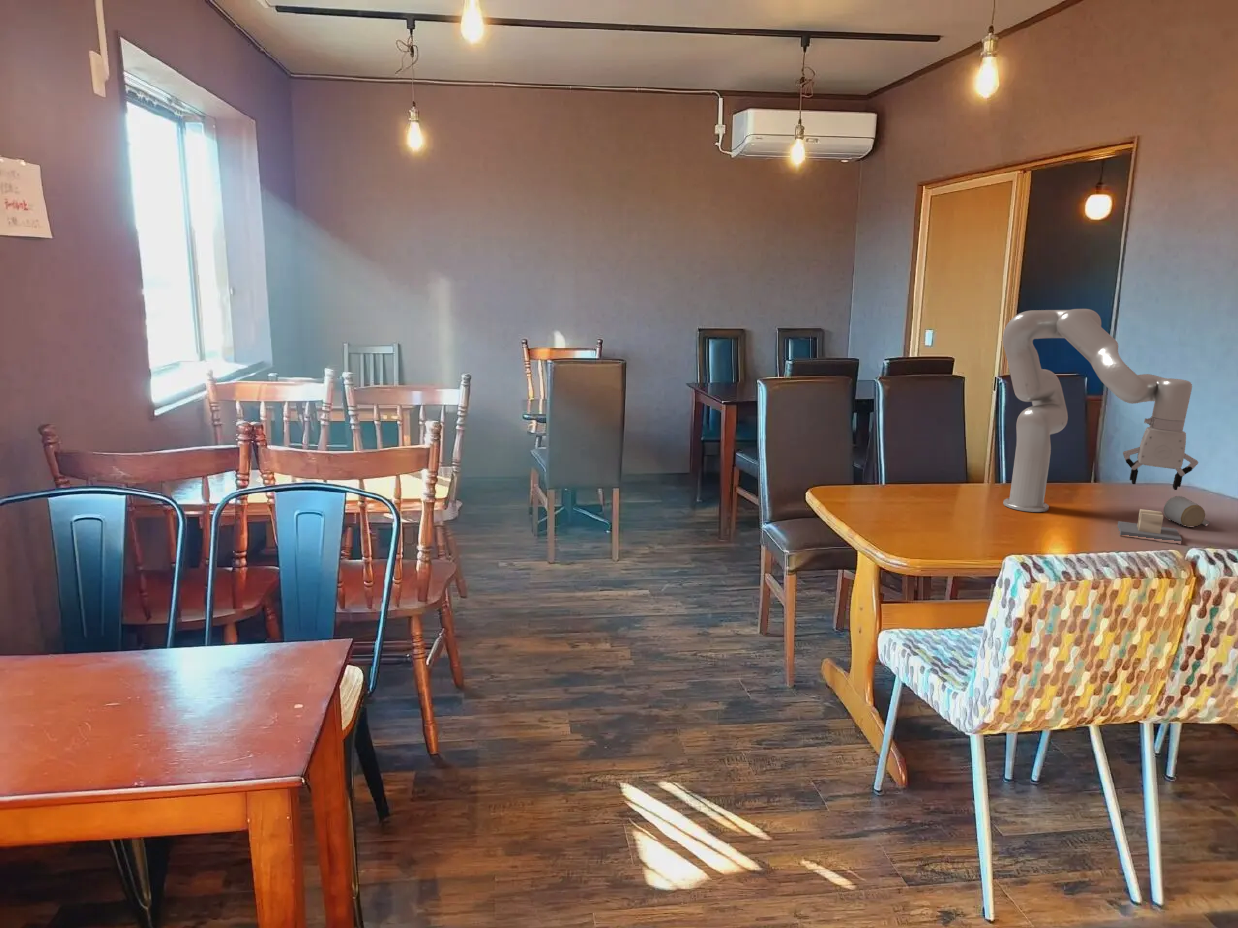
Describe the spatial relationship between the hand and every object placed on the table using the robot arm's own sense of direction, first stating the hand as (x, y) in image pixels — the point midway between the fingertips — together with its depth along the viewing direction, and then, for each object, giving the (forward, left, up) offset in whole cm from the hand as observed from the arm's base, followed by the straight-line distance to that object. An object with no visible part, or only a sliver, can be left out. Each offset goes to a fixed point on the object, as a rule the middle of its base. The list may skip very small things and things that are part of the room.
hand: (1153, 486), depth 222 cm
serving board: (0, +1, -14) cm, 14 cm away
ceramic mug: (-18, +12, -14) cm, 26 cm away
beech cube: (0, +1, -13) cm, 12 cm away
